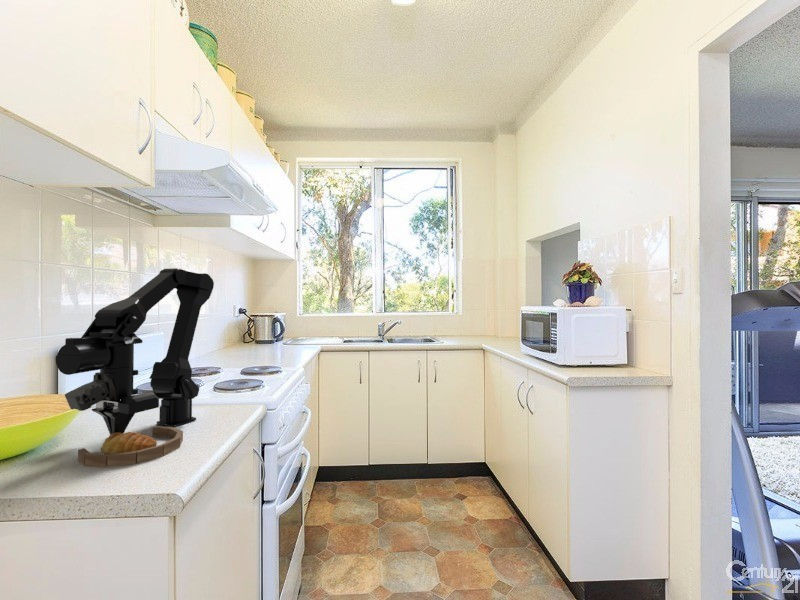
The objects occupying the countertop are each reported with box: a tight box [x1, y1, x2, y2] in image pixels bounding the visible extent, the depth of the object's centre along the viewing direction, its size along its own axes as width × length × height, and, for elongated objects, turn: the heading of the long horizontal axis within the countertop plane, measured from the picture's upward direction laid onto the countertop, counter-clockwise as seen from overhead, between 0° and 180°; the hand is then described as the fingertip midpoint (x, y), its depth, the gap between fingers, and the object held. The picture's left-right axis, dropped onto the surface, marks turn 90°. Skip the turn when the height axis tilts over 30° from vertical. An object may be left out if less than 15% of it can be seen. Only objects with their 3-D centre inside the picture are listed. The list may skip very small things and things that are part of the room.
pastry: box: [100, 431, 158, 454], centre depth 79 cm, size 9×7×4 cm
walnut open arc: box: [77, 425, 184, 468], centre depth 79 cm, size 18×13×2 cm
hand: (116, 440), depth 82 cm, fingers closed
